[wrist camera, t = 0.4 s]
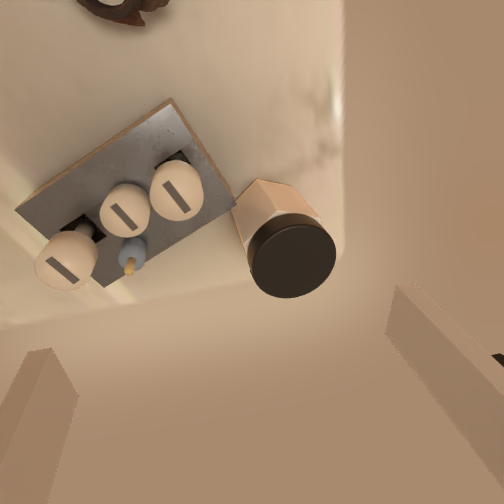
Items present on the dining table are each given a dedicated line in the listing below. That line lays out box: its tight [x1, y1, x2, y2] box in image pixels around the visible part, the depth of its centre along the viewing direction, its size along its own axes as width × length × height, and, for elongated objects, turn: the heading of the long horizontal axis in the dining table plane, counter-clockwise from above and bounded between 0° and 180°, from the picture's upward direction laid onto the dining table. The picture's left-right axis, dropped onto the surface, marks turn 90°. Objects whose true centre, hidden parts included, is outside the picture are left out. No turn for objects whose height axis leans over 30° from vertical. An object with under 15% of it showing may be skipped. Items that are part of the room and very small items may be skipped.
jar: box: [231, 179, 336, 298], centre depth 34 cm, size 9×8×12 cm
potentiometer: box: [118, 237, 147, 276], centre depth 31 cm, size 2×2×4 cm
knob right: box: [150, 159, 204, 221], centre depth 27 cm, size 4×4×8 cm
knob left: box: [34, 219, 98, 290], centre depth 29 cm, size 4×4×8 cm
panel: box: [15, 98, 237, 287], centre depth 33 cm, size 11×17×5 cm, turn 120°
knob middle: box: [100, 182, 151, 237], centre depth 31 cm, size 4×4×8 cm
